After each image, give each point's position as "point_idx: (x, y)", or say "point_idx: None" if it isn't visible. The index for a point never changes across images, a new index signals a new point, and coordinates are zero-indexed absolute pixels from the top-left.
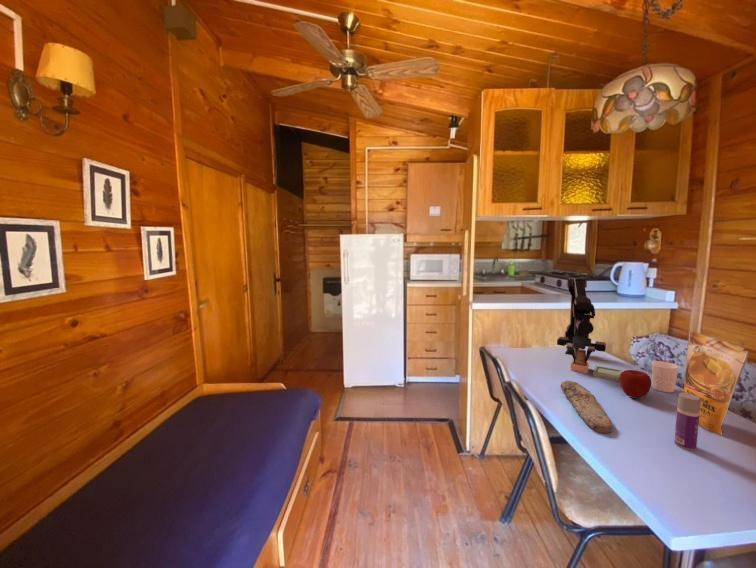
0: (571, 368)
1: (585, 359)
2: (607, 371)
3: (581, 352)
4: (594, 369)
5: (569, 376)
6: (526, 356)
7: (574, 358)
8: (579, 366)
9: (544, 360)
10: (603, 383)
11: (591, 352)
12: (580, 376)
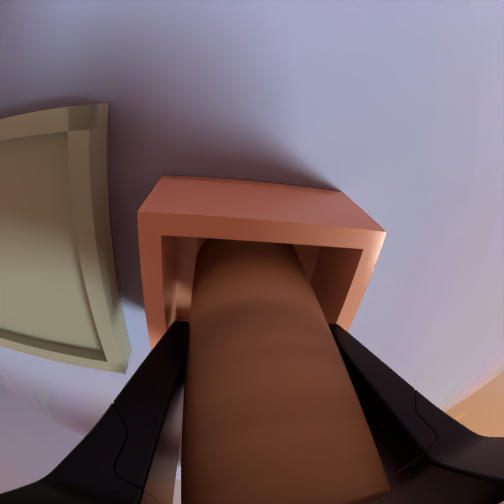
0: (346, 204)
1: (179, 361)
2: (28, 298)
3: (281, 491)
4: (99, 278)
5: (355, 21)
6: (497, 333)
7: (350, 350)
8: (264, 212)
9: (452, 334)
10: (33, 9)
11: (14, 490)
12: (238, 60)
